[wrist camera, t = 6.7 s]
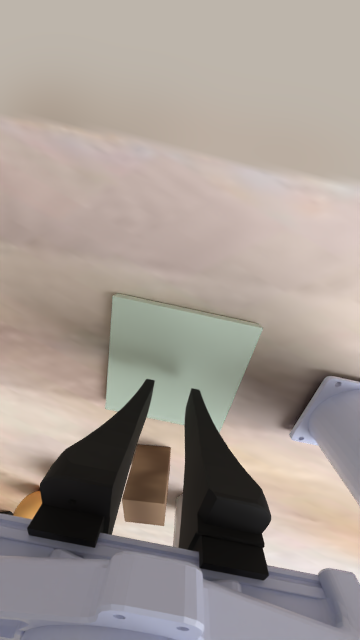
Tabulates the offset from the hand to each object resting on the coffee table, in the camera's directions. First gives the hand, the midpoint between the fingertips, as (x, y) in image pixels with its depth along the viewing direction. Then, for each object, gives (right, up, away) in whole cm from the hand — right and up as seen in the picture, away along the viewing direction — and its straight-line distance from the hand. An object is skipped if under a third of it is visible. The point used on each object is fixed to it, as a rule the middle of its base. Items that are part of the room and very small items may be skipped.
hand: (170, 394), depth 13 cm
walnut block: (-2, -11, +8) cm, 14 cm away
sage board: (0, +1, +3) cm, 3 cm away
